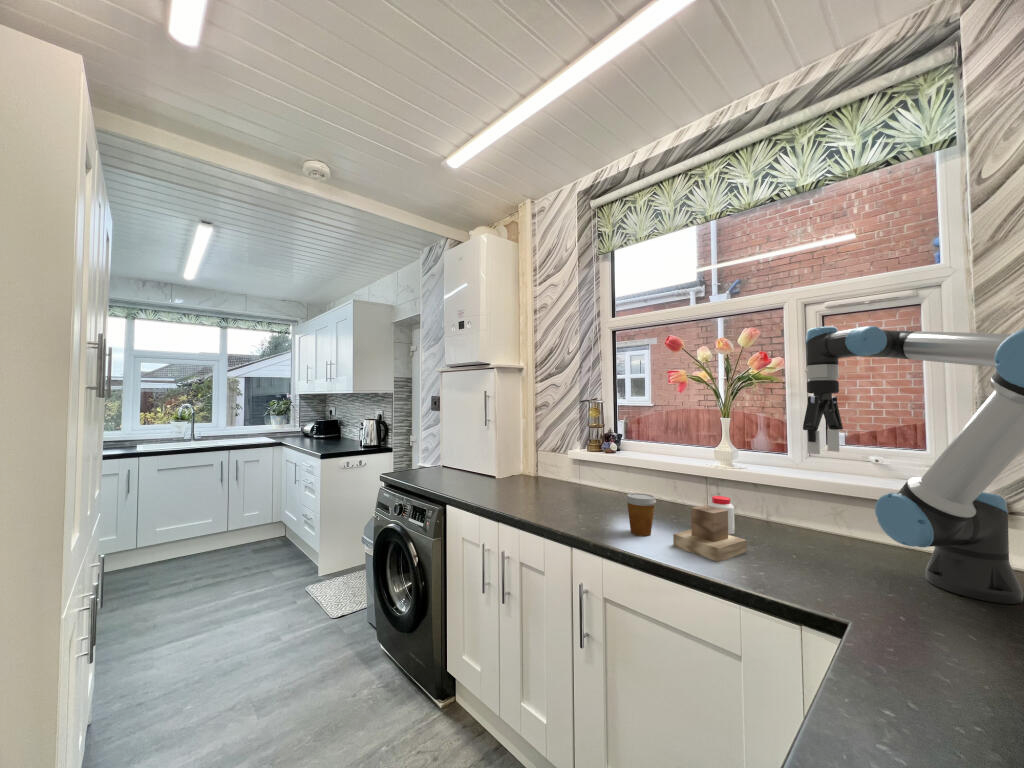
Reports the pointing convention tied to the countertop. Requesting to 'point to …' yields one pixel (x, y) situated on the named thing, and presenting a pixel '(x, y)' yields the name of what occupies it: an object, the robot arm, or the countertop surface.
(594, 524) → the countertop surface
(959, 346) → the robot arm
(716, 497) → the pill bottle
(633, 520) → the disposable coffee cup
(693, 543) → the oak block
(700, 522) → the walnut block
